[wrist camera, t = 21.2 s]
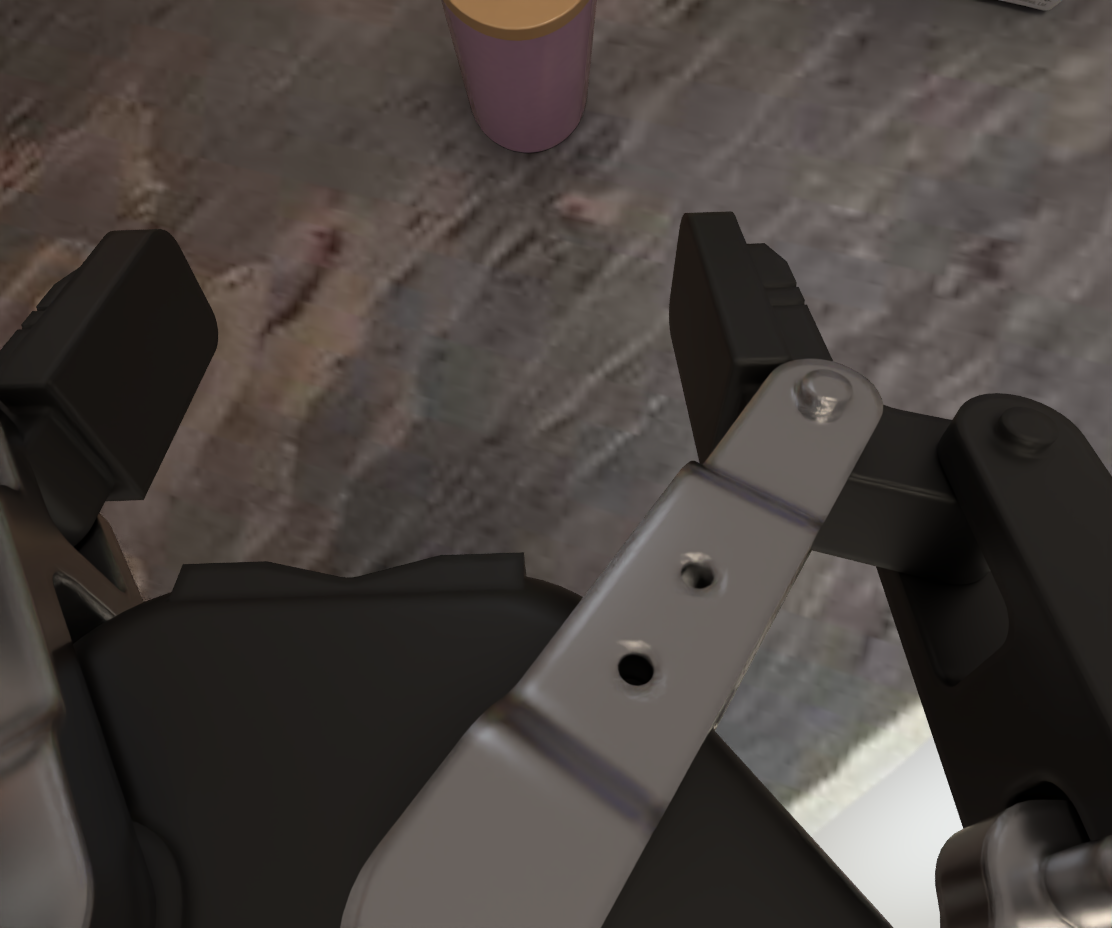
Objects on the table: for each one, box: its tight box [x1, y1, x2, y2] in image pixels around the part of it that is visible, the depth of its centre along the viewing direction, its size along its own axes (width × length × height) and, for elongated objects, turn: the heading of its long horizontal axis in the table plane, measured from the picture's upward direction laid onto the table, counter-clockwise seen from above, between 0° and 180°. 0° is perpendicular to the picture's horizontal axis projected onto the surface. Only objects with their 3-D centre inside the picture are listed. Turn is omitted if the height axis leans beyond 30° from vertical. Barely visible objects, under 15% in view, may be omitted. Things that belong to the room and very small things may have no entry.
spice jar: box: [441, 0, 597, 153], centre depth 23 cm, size 5×5×9 cm
